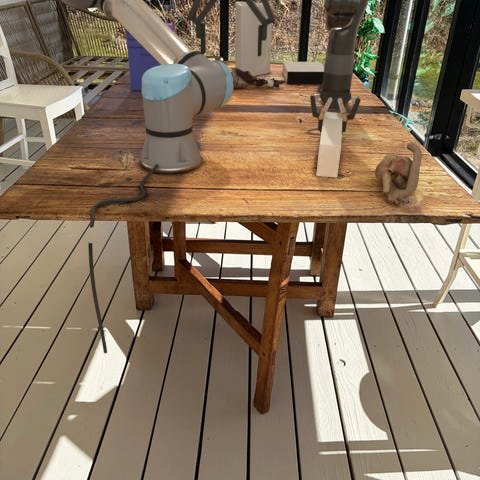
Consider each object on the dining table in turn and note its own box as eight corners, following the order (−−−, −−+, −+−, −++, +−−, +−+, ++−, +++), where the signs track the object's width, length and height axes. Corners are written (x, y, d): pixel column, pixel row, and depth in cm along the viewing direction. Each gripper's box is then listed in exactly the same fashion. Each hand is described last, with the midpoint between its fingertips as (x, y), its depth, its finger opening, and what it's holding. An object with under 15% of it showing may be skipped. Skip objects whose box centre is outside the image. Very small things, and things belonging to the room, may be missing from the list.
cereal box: (177, 88, 189) (174, 22, 177) (175, 91, 185) (172, 24, 173) (134, 87, 190) (128, 21, 178) (131, 90, 186) (124, 23, 174)
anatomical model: (387, 195, 117) (397, 211, 103) (362, 171, 116) (368, 184, 102) (428, 158, 112) (444, 169, 98) (402, 132, 112) (415, 140, 97)
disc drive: (287, 84, 198) (287, 71, 196) (281, 72, 218) (282, 61, 215) (329, 84, 199) (330, 72, 196) (320, 72, 218) (321, 61, 216)
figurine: (210, 87, 179) (288, 95, 182) (212, 65, 176) (291, 73, 180) (208, 84, 201) (278, 91, 205) (210, 64, 198) (280, 71, 202)
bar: (337, 177, 117) (341, 145, 112) (316, 175, 117) (319, 144, 113) (339, 140, 140) (342, 113, 136) (321, 139, 141) (324, 111, 136)
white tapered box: (273, 76, 210) (276, 6, 196) (239, 77, 209) (240, 6, 194) (266, 67, 226) (268, 2, 212) (235, 67, 225) (235, 1, 210)
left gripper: (289, -49, 105) (283, 53, 116) (179, -50, 108) (183, 49, 119) (288, -49, 99) (282, 59, 110) (171, -51, 101) (176, 55, 112)
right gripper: (365, 69, 128) (356, 130, 137) (312, 66, 131) (306, 126, 139) (366, 75, 122) (357, 139, 131) (310, 71, 124) (304, 135, 133)
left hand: (231, 54), depth 114 cm, fingers open, 13 cm apart
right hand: (331, 132), depth 135 cm, fingers closed on bar, 5 cm apart
